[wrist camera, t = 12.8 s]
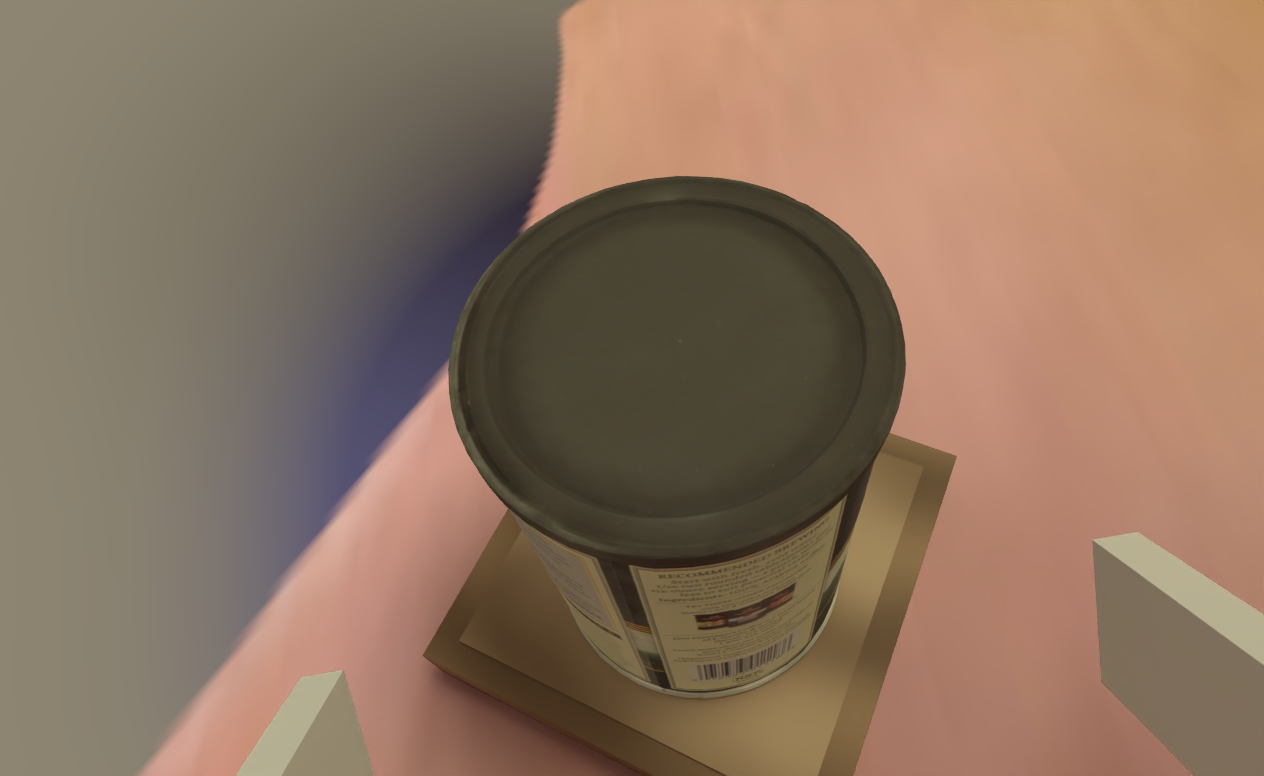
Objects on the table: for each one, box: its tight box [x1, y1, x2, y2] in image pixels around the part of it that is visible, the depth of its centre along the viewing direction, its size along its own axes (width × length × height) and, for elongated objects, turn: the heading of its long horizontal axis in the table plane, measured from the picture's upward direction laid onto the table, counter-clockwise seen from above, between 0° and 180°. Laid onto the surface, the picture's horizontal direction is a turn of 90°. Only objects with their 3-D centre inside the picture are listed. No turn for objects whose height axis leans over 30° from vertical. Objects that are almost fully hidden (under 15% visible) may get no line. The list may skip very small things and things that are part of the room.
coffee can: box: [448, 176, 906, 699], centre depth 25 cm, size 10×10×14 cm
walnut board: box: [423, 433, 957, 776], centre depth 32 cm, size 15×15×3 cm
